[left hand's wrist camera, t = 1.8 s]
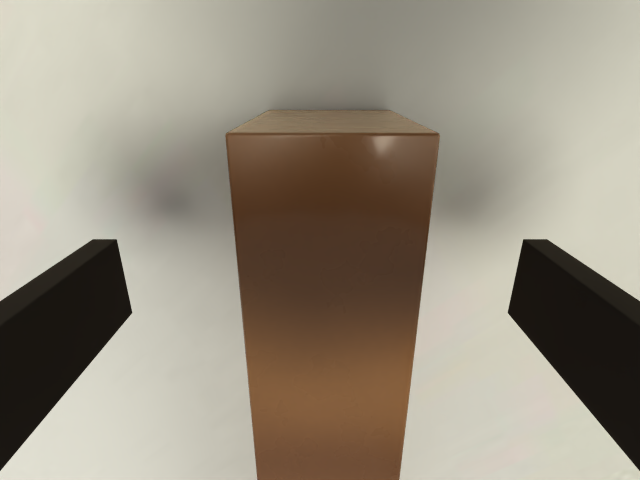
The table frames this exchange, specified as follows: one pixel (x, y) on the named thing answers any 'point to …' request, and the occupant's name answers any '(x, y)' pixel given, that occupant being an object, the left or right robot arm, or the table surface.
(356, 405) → the post
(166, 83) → the table surface
